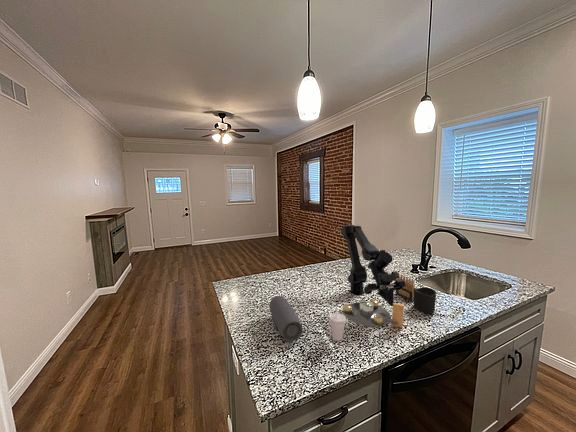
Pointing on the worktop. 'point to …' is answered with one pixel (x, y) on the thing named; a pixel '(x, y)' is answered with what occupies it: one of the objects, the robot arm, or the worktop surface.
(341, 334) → the smoothie
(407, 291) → the ammunition clip
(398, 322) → the lever
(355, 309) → the tribrach plate
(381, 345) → the worktop surface
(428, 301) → the pen holder
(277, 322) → the bluetooth speaker
